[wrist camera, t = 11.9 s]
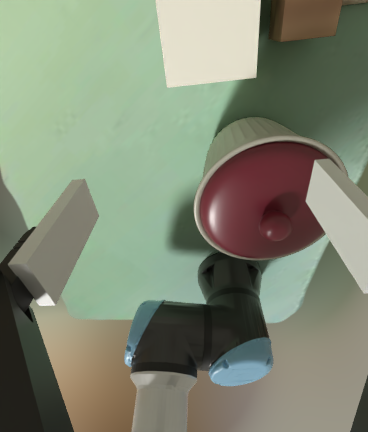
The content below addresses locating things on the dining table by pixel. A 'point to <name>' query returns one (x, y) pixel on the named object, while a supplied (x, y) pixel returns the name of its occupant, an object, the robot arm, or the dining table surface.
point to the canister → (259, 190)
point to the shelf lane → (208, 40)
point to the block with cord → (305, 18)
